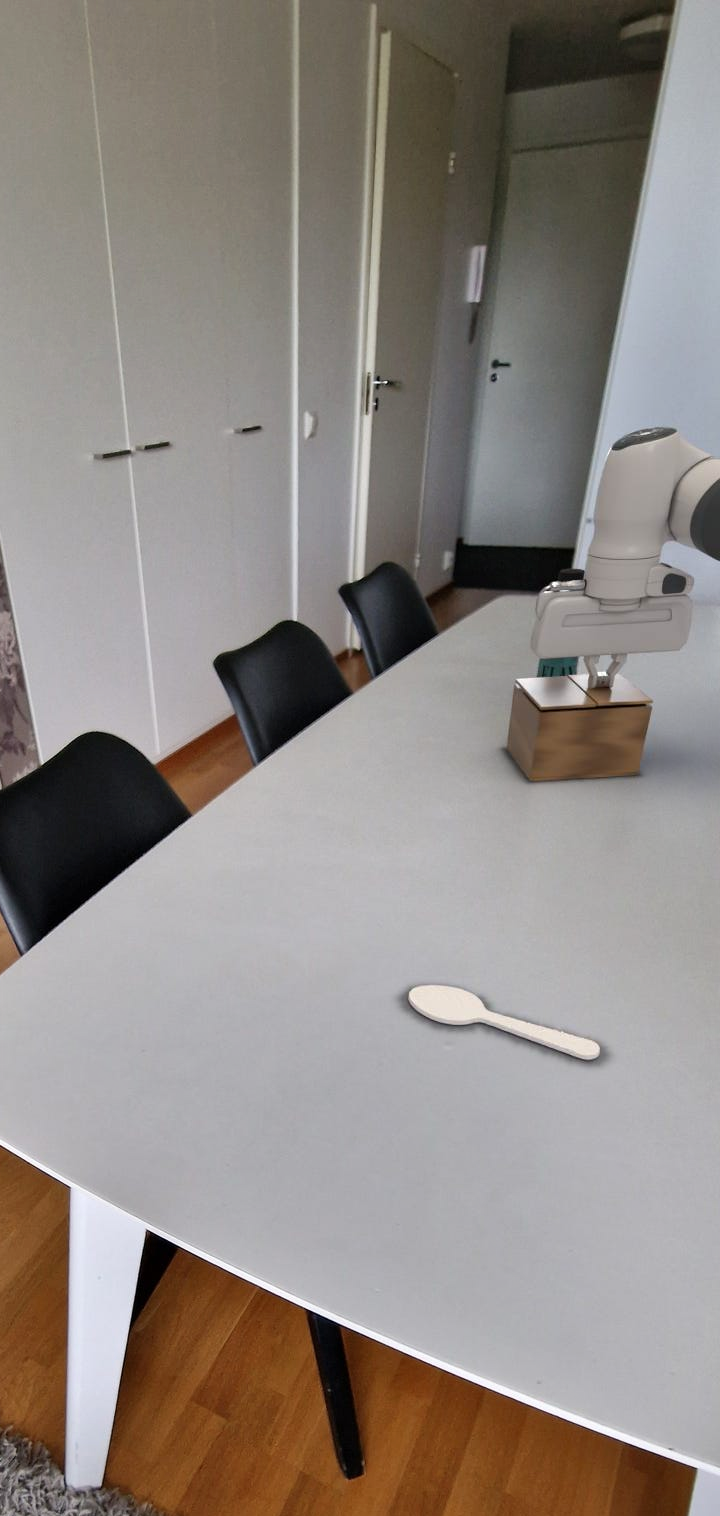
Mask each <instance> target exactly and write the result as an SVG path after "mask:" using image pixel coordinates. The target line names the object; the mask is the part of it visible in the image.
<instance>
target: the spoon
mask: <svg viewBox="0 0 720 1516" xmlns="http://www.w3.org/2000/svg"><path fill="white" fill-rule="evenodd" d="M408 1002H409V1004H410V1005H411V1007H412V1008H413V1009H414V1010H416V1012H418V1013H419V1014H421V1015H422V1016H425V1017H426V1018H429V1019H430V1020H433V1021H435V1022H438V1023H442V1024H446V1025H453V1026H454V1025H455V1026H461V1025H470V1024H474V1023H483V1024H486V1025H488V1026H492V1027H495V1028H497V1029H500V1030H501V1031H505V1032H508V1033H510V1034H513V1035H515V1036H518V1037H520V1038H524V1039H526V1040H530V1041H532V1042H534V1043H538V1044H540V1045H543V1046H546V1047H548V1048H551V1049H553V1050H556V1051H559V1052H562V1053H566V1054H567V1055H571V1056H572V1057H575V1058H579V1059H582V1060H589V1061H590V1060H594V1059H597V1058H598V1057H599V1056H600V1054H601V1053H600V1052H601V1047H600V1045H599V1044H598V1043H597V1042H595V1041H594V1040H591V1039H589V1038H584V1037H582V1036H581V1037H580V1036H576V1035H574V1034H572V1033H567V1032H564V1031H563V1030H560V1031H559V1030H557V1029H555V1028H553V1029H552V1028H548V1027H546V1026H542V1025H541V1024H539V1025H537V1024H535V1023H534V1024H533V1023H531V1022H530V1021H528V1022H526V1021H525V1020H521V1019H517V1018H515V1017H510V1016H508V1015H507V1016H506V1015H503V1014H501V1013H496V1012H493V1011H490V1010H489V1009H488V1008H486V1007H485V1004H484V1003H483V1002H482V999H480V998H479V997H478V996H477V995H475V994H474V993H472V992H470V991H467V990H466V989H462V988H460V987H454V986H448V985H444V984H443V985H442V984H441V985H439V984H426V985H423V984H422V985H417V986H415V987H413V988H412V989H410V991H409V992H408Z"/></svg>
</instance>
